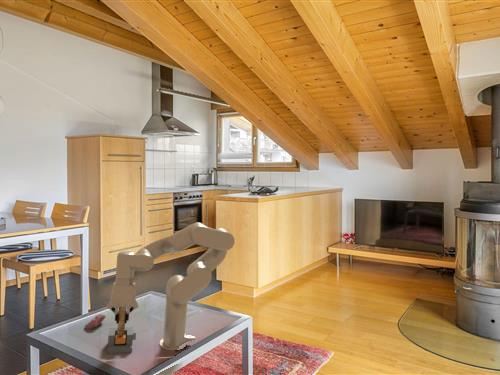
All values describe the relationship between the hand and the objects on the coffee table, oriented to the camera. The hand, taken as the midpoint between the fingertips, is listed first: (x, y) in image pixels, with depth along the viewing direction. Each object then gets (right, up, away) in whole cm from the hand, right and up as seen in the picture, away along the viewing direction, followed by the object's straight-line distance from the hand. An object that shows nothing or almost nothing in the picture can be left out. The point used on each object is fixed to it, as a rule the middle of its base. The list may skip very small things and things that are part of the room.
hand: (121, 321), depth 169 cm
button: (-1, -9, +1) cm, 9 cm away
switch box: (-1, -12, +1) cm, 12 cm away
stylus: (-1, -6, 0) cm, 6 cm away
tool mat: (-1, -11, +11) cm, 16 cm away
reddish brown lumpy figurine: (-19, -9, +20) cm, 29 cm away
